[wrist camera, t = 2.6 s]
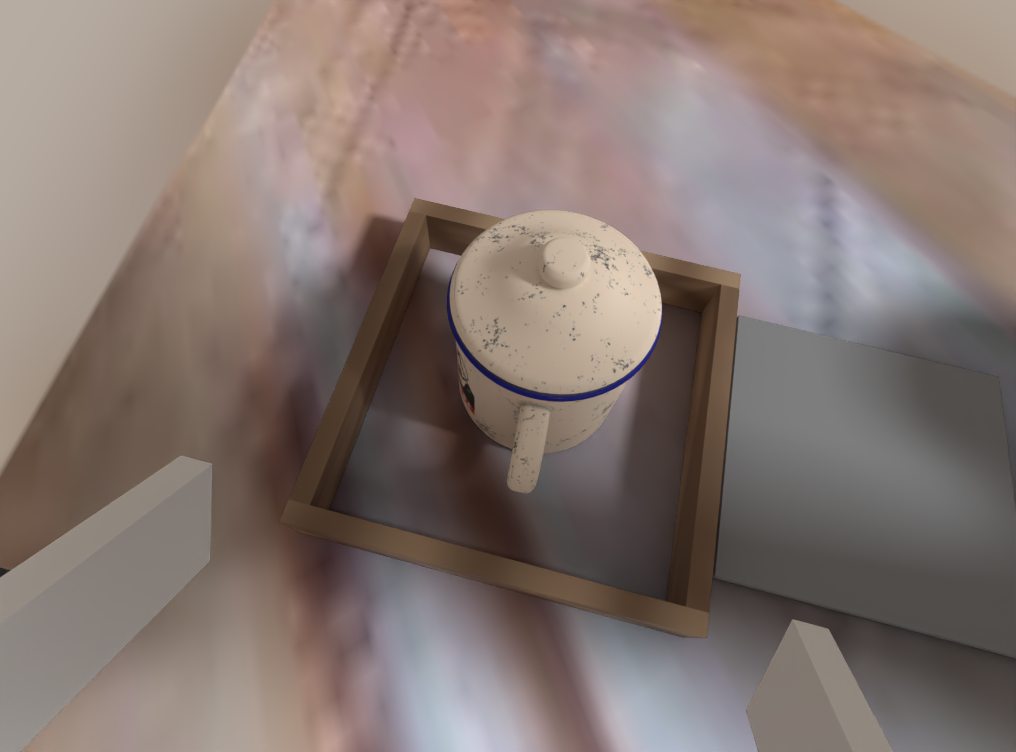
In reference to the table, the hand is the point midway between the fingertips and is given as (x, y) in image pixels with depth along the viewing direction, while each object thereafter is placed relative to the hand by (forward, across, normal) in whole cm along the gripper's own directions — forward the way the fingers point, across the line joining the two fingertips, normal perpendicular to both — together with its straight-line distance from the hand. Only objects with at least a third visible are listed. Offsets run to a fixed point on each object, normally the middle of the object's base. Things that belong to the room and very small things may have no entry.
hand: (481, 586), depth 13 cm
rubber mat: (+19, +18, -2) cm, 26 cm away
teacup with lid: (+18, 0, -3) cm, 19 cm away
